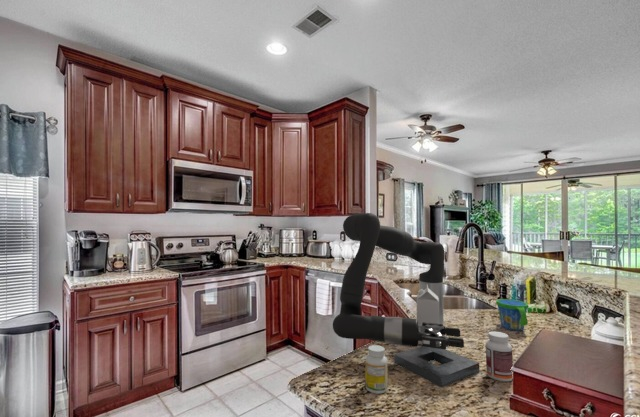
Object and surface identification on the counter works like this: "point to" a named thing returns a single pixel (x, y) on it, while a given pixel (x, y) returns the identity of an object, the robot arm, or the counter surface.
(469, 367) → the holder block
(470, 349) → the counter surface
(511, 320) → the snack cup
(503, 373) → the pill bottle
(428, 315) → the milk carton
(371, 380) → the supplement bottle
